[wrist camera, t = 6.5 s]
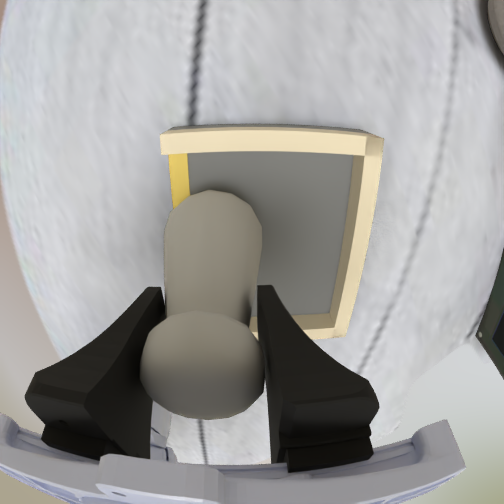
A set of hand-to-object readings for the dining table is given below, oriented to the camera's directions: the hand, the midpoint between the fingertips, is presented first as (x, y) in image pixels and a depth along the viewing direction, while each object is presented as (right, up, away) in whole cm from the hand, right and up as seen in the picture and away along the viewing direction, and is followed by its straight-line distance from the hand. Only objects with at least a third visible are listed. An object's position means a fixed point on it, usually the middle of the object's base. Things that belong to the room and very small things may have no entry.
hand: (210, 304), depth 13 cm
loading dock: (+3, +4, +10) cm, 11 cm away
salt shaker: (-1, +4, +7) cm, 8 cm away
